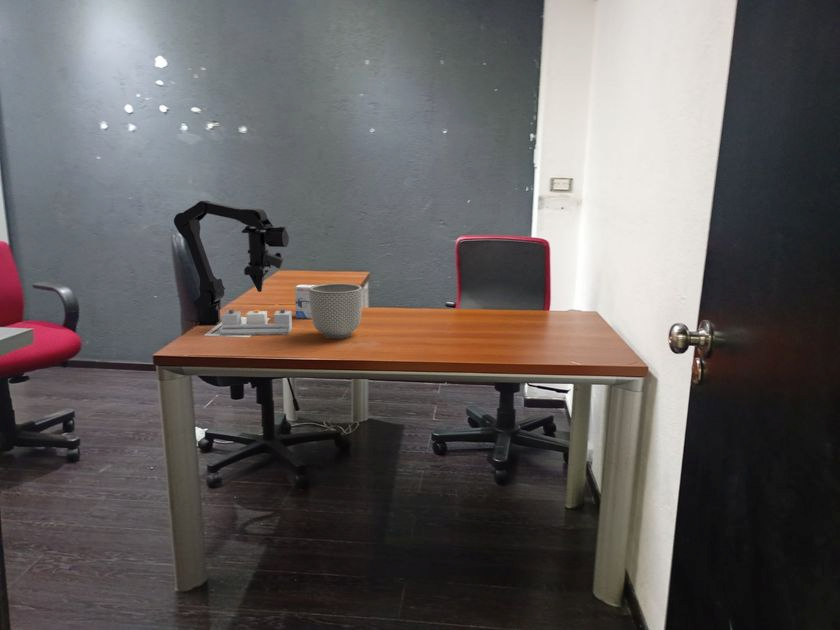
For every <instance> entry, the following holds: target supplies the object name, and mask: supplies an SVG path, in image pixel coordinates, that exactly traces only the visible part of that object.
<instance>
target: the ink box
mask: <svg viewBox="0 0 840 630" xmlns="http://www.w3.org/2000/svg"><path fill="white" fill-rule="evenodd" d="M315 285H316V284H298V285H296V286H295V287H294V290H295V291H294V293H295V294H294V295H295V299H294V300H295V303H294V304H295V318H296V319H312V316H311V309H310V300H309V288H310V287H312V286H315Z"/></svg>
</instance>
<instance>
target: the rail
mask: <svg viewBox="0 0 840 630" xmlns="http://www.w3.org/2000/svg"><path fill="white" fill-rule="evenodd" d="M290 333H291V331H290V327H289V323H287V324H274V323H268V324H247V323H241V324H222V323H221V328H220V329H219V334H220V336H257V335H258V336H262V335H263V336H268V335H269V336H271V335H275V336H276V335H279V336H280V335H282V336H283V335H290Z"/></svg>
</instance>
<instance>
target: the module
mask: <svg viewBox="0 0 840 630" xmlns="http://www.w3.org/2000/svg"><path fill="white" fill-rule="evenodd" d="M245 318H246V319H245V320H246V324H269V323H268V311H267V310H260V309H254V310H248V312H247V313H246V314H245Z"/></svg>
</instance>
